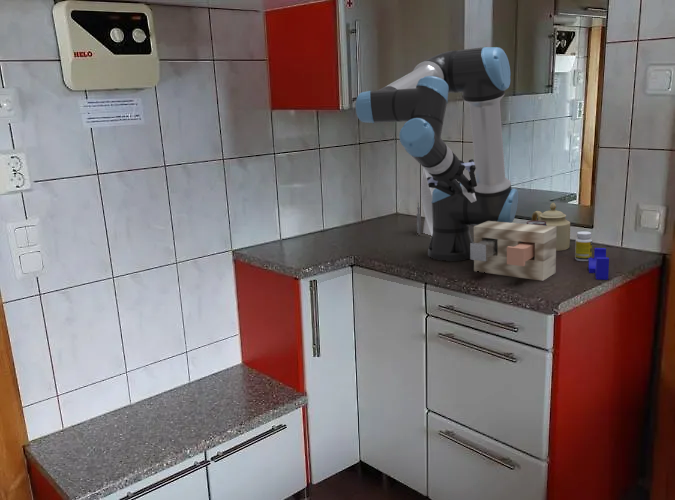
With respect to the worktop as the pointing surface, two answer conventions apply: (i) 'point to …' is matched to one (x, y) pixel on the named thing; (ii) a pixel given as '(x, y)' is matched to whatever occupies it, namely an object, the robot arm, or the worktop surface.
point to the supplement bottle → (583, 246)
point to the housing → (513, 236)
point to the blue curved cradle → (599, 264)
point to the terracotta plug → (520, 253)
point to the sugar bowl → (556, 220)
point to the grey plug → (483, 249)
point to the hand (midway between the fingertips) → (472, 197)
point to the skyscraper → (425, 205)
